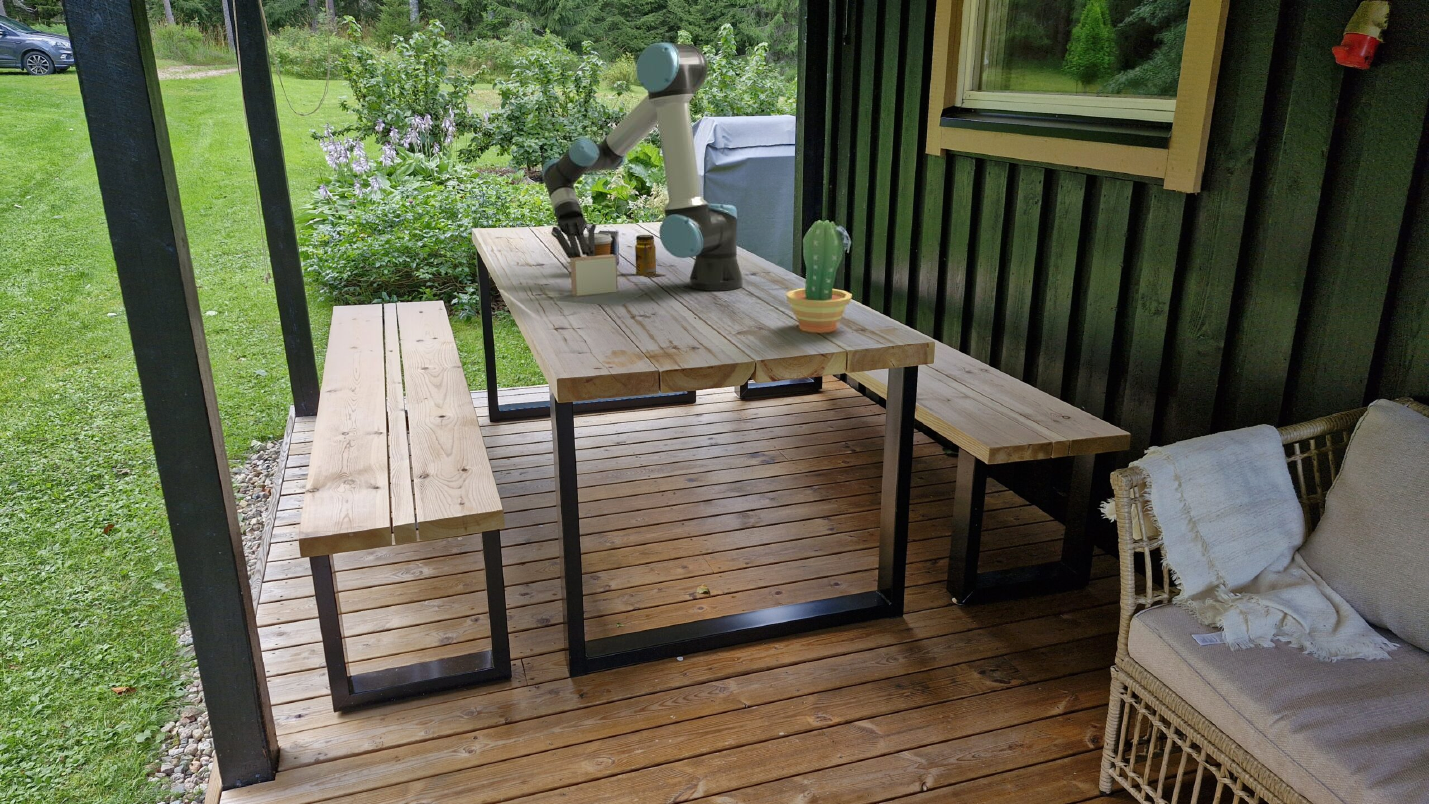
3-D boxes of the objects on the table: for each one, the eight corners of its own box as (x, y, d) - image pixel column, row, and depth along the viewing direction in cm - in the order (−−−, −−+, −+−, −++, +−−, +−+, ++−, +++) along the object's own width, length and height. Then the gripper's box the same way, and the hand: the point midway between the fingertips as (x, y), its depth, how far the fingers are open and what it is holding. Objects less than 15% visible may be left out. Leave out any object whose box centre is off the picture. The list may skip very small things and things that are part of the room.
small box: (616, 269, 287) (615, 235, 283) (595, 269, 287) (594, 235, 283) (620, 263, 297) (619, 230, 293) (600, 263, 297) (598, 230, 293)
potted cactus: (836, 339, 208) (840, 227, 199) (774, 331, 215) (776, 223, 207) (860, 324, 220) (866, 219, 212) (801, 317, 228) (804, 214, 219)
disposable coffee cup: (611, 278, 274) (610, 237, 270) (579, 278, 274) (577, 237, 270) (615, 271, 283) (613, 232, 279) (584, 271, 283) (582, 232, 279)
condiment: (630, 275, 278) (629, 235, 274) (653, 272, 283) (653, 232, 279) (643, 279, 272) (642, 238, 268) (667, 275, 277) (666, 235, 273)
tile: (572, 294, 249) (570, 258, 246) (613, 290, 254) (612, 254, 251) (575, 297, 246) (573, 260, 243) (618, 292, 251) (616, 256, 248)
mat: (646, 294, 252) (646, 292, 252) (620, 308, 237) (620, 305, 237) (583, 290, 258) (583, 287, 258) (554, 302, 243) (554, 300, 242)
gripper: (586, 215, 267) (608, 282, 258) (542, 218, 262) (563, 287, 253) (591, 198, 261) (614, 266, 252) (546, 201, 256) (568, 271, 247)
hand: (588, 276), depth 253 cm, fingers closed
